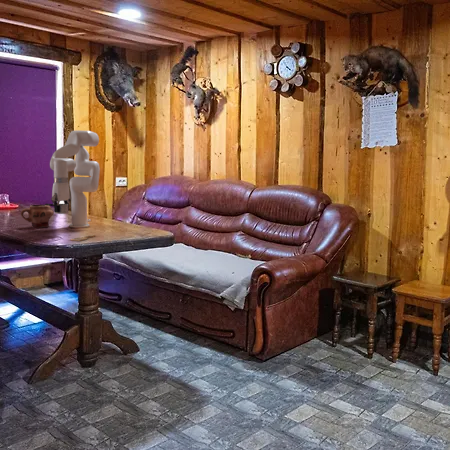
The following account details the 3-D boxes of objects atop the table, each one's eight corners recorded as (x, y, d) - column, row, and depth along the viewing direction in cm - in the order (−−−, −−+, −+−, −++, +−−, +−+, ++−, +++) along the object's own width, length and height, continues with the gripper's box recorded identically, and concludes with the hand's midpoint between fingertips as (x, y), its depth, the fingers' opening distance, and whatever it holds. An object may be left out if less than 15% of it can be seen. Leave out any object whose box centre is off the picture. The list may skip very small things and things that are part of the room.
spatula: (90, 235, 298) (89, 234, 297) (98, 236, 296) (98, 235, 296) (70, 240, 281) (70, 238, 281) (79, 241, 279) (79, 239, 279)
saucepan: (71, 212, 302) (70, 204, 301) (62, 214, 295) (62, 205, 294) (49, 211, 307) (49, 202, 306) (41, 212, 300) (40, 203, 299)
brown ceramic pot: (25, 229, 315) (25, 206, 313) (17, 227, 323) (17, 204, 321) (57, 227, 328) (57, 205, 326) (48, 224, 337) (48, 203, 335)
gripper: (65, 179, 306) (65, 209, 309) (45, 181, 290) (46, 212, 293) (76, 180, 304) (76, 210, 306) (56, 181, 288) (57, 213, 290)
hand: (61, 211), depth 300 cm, fingers closed on saucepan, 7 cm apart
